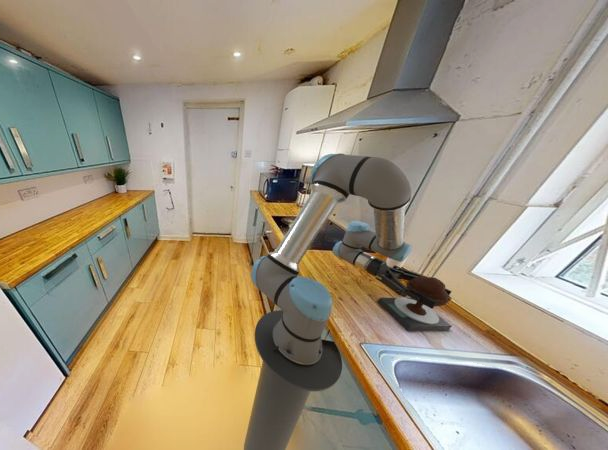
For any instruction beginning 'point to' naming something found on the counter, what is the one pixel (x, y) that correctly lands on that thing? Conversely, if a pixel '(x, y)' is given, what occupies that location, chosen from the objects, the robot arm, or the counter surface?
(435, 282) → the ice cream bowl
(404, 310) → the kitchen scale
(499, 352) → the counter surface
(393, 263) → the drinking glass
